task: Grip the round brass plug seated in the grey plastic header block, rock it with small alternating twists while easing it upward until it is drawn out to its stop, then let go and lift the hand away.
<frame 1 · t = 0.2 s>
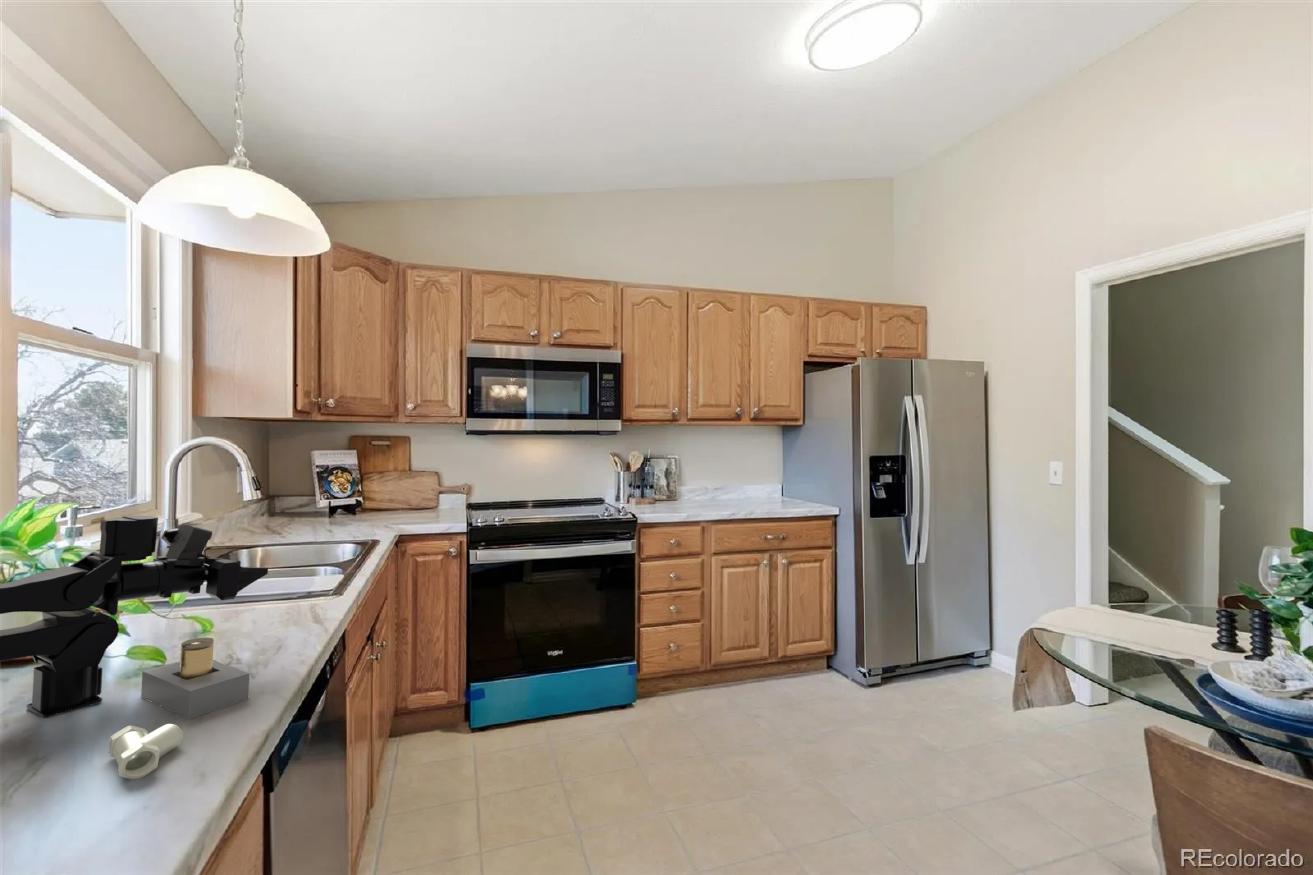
hand: (253, 567, 110), 16 cm above the worktop, tool horizontal, fingers open, 9 cm apart
pipe fitting: (149, 764, 74), on the worktop
brass plug: (196, 669, 92), point 4 cm above the worktop, slide at 0.0 cm
header block: (194, 698, 92), on the worktop
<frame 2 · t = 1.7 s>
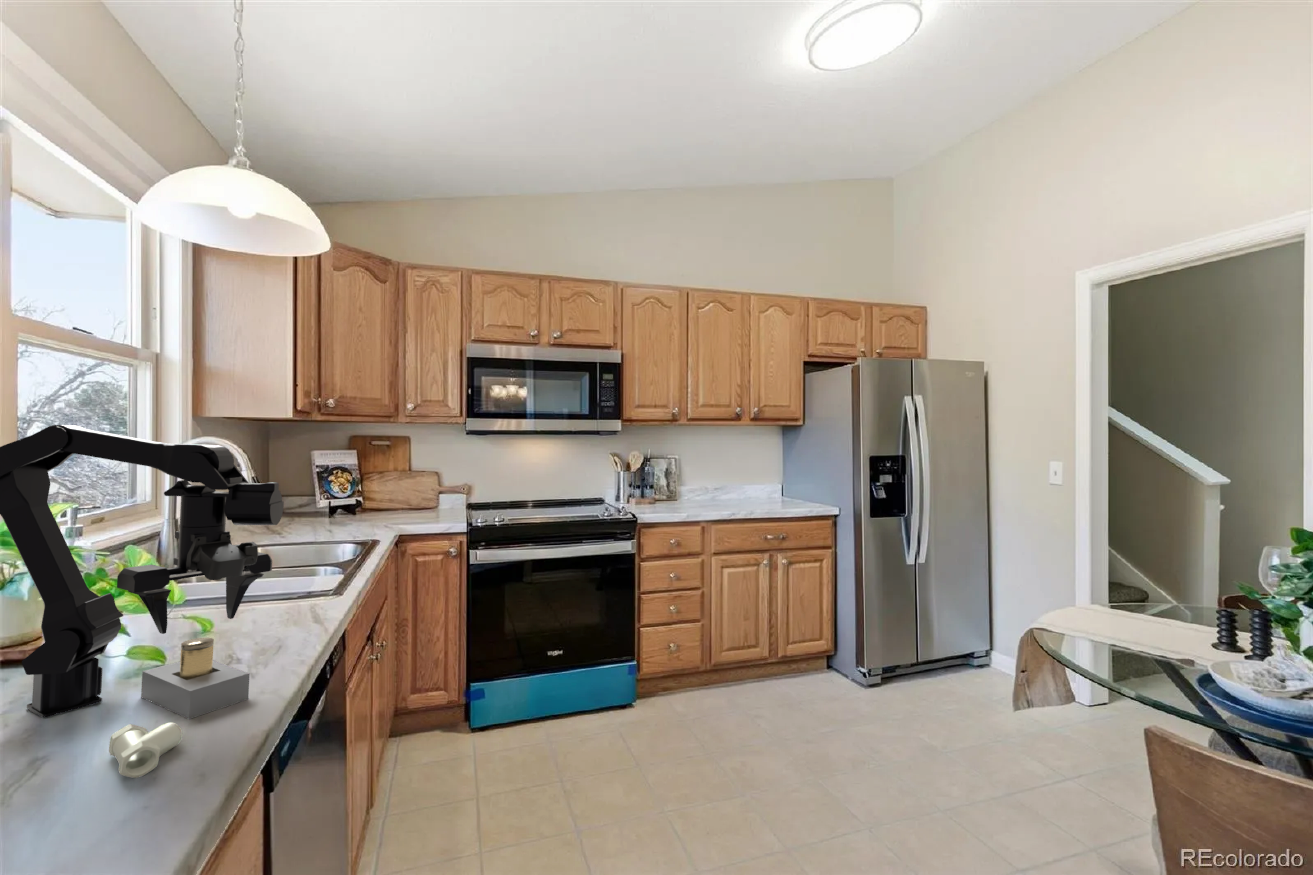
hand: (198, 625, 92), 11 cm above the worktop, tool pointing down, fingers open, 9 cm apart
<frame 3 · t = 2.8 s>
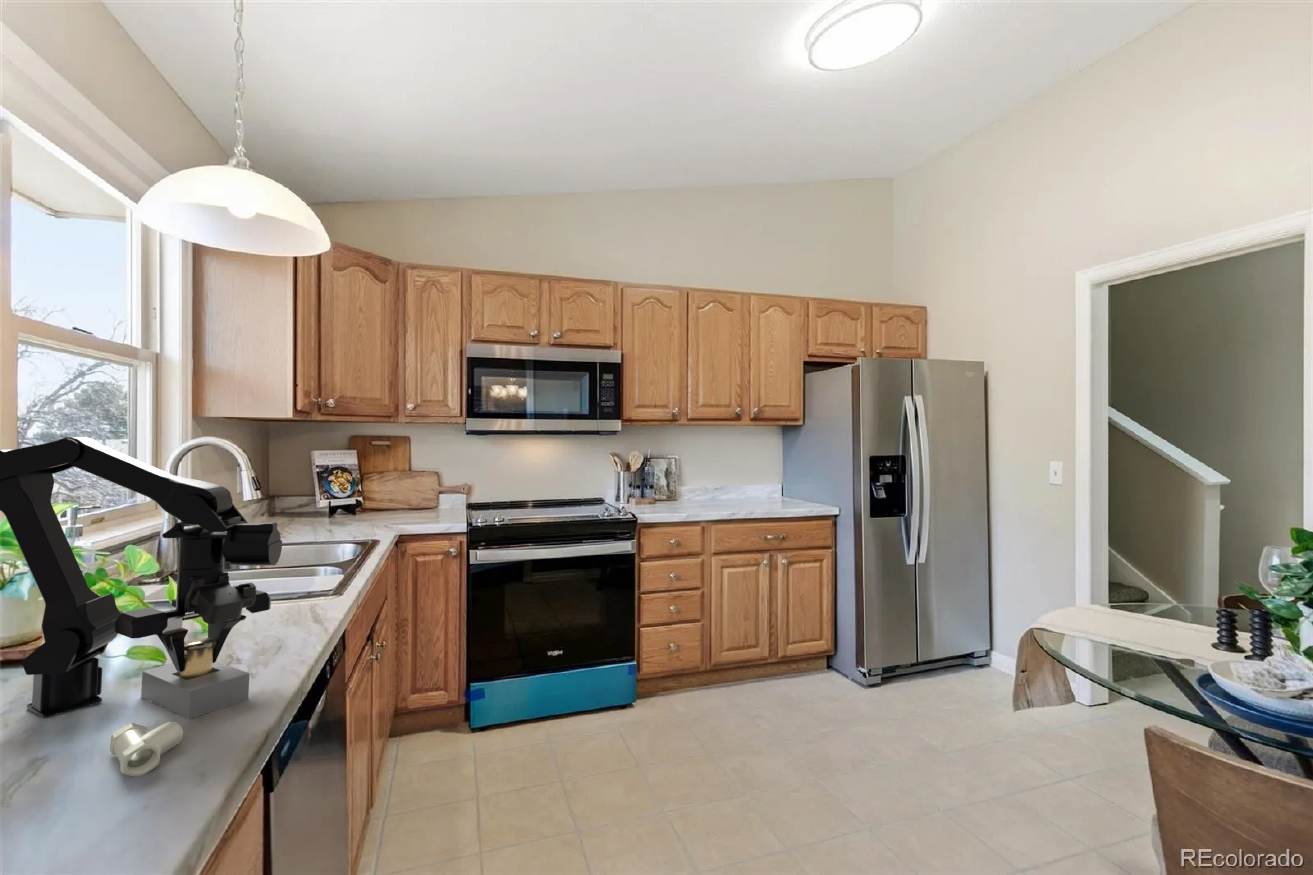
hand: (196, 666, 92), 5 cm above the worktop, tool pointing down, fingers closed on brass plug, 4 cm apart
brass plug: (196, 669, 92), point 4 cm above the worktop, slide at 0.0 cm, touching gripper
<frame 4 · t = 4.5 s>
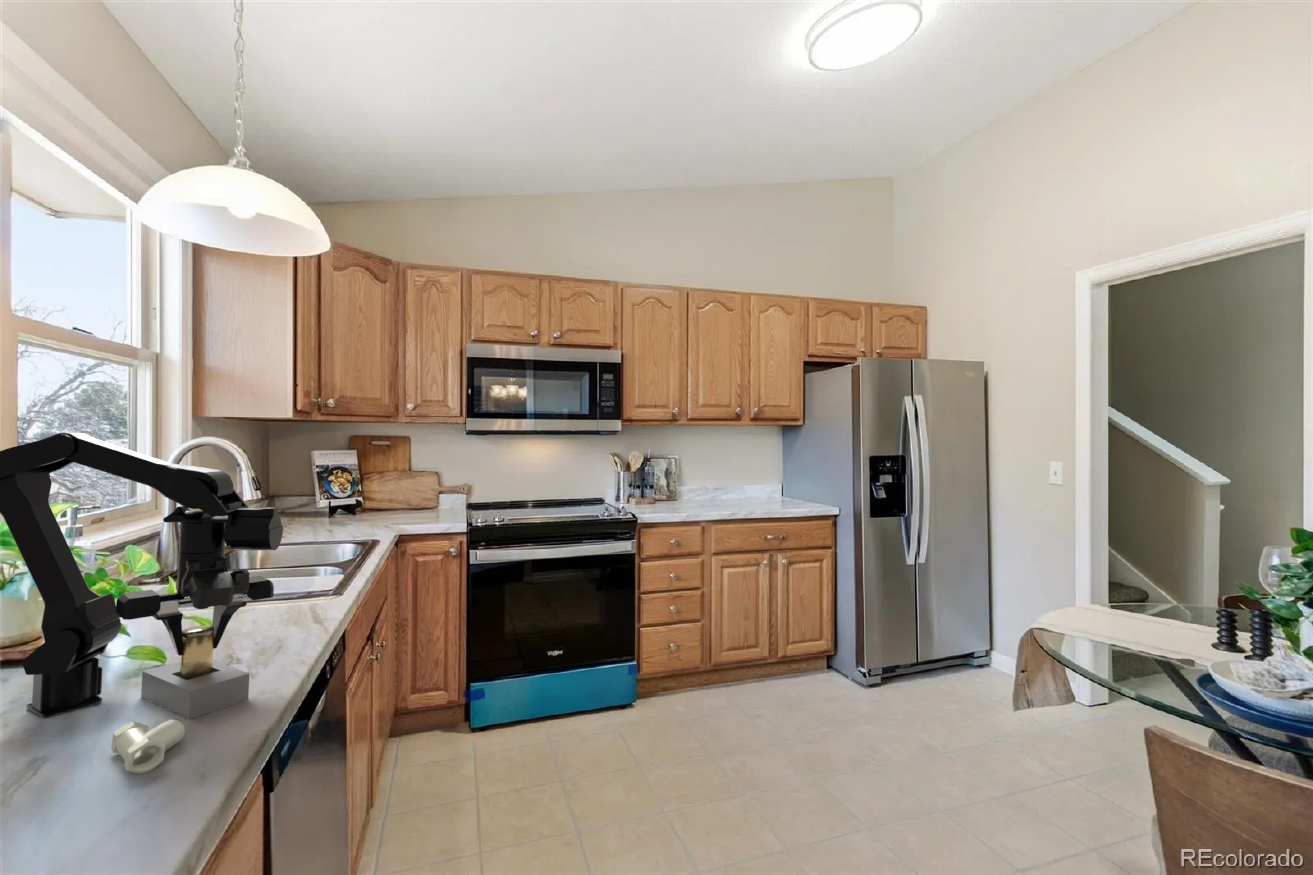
hand: (197, 651, 92), 7 cm above the worktop, tool pointing down, fingers closed on brass plug, 4 cm apart
brass plug: (196, 656, 92), point 6 cm above the worktop, slide at 1.9 cm, touching gripper
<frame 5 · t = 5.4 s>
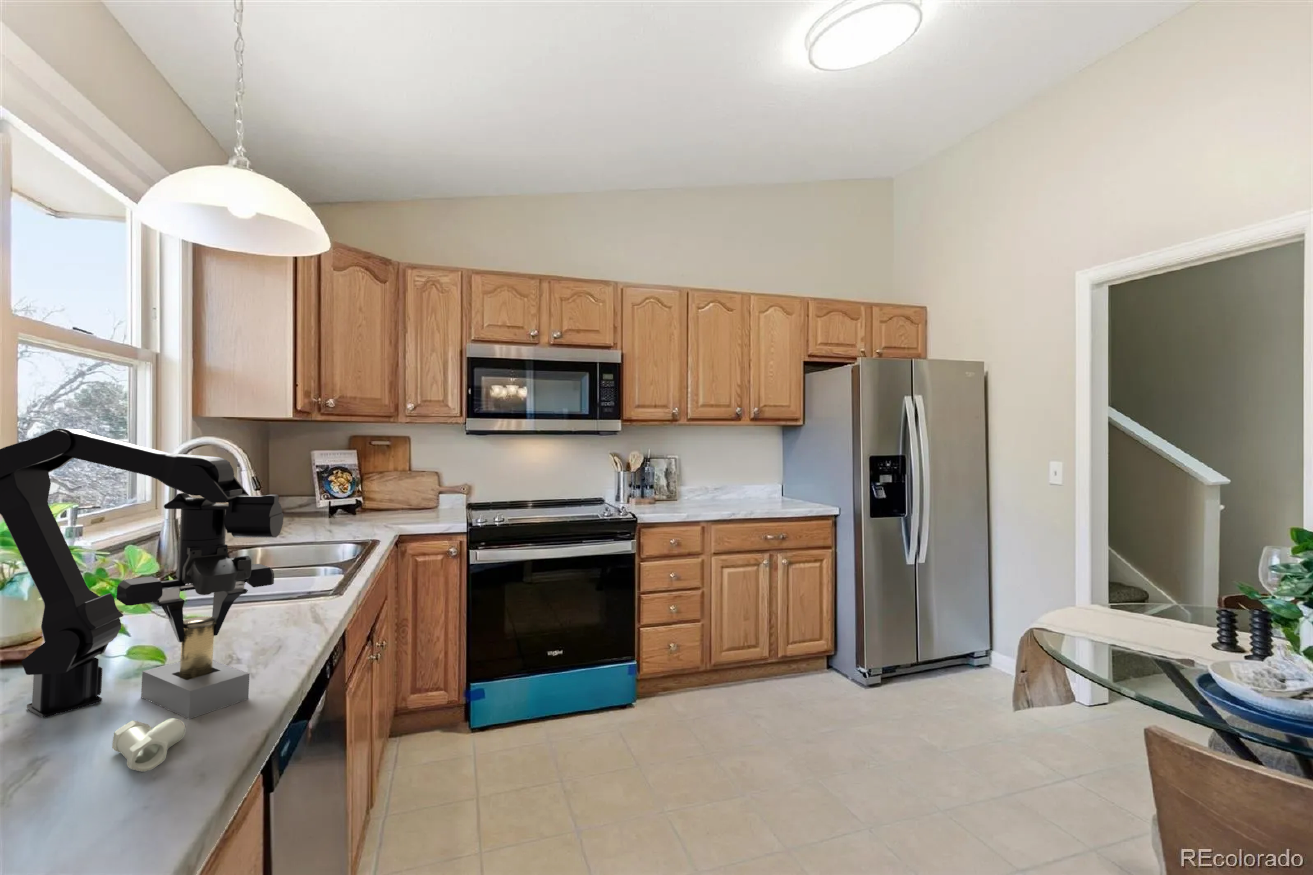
hand: (197, 638, 92), 9 cm above the worktop, tool pointing down, fingers closed on brass plug, 4 cm apart
brass plug: (197, 647, 92), point 8 cm above the worktop, slide at 3.4 cm, touching gripper
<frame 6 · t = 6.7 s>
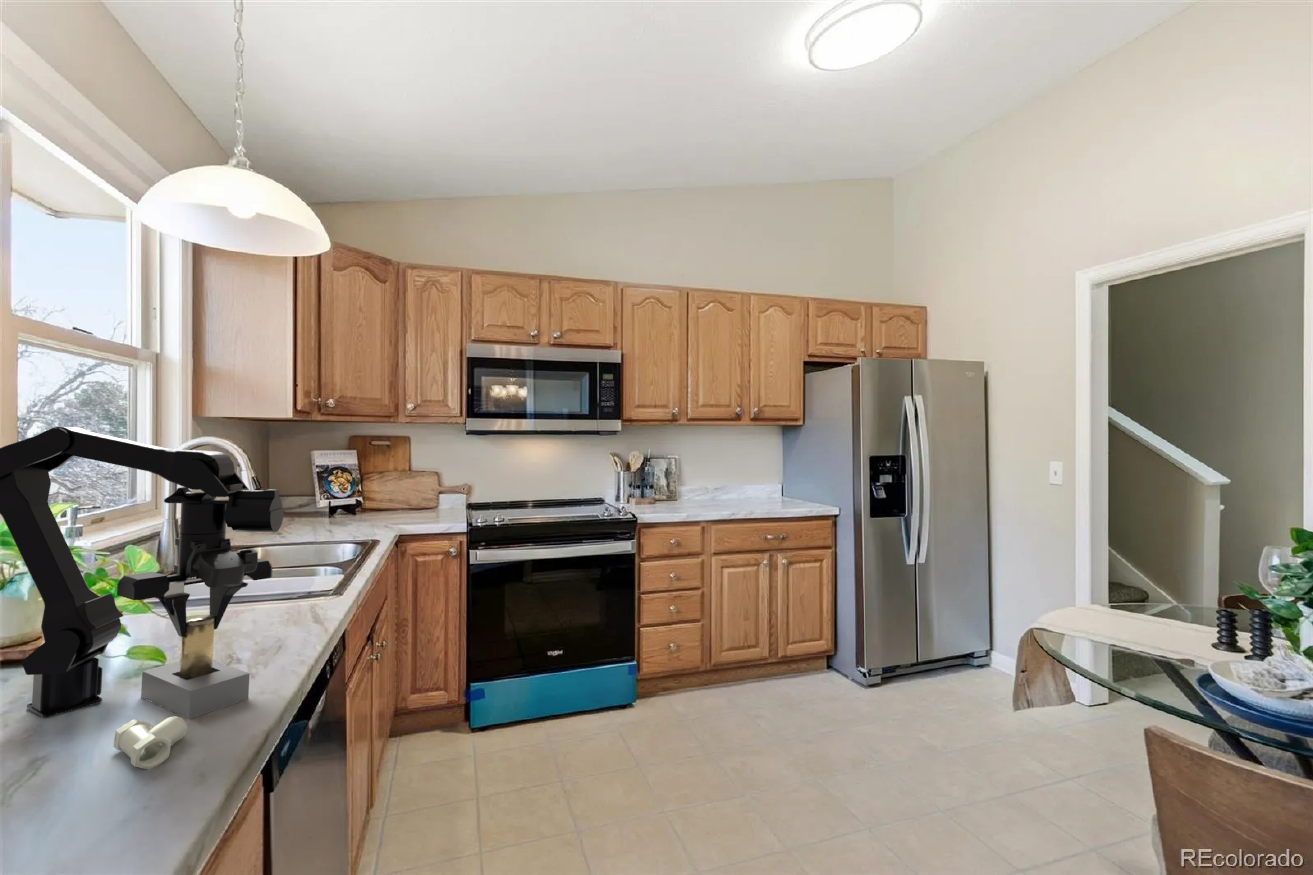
hand: (198, 632, 92), 10 cm above the worktop, tool pointing down, fingers closed on brass plug, 4 cm apart
brass plug: (197, 645, 92), point 8 cm above the worktop, slide at 3.6 cm, touching gripper
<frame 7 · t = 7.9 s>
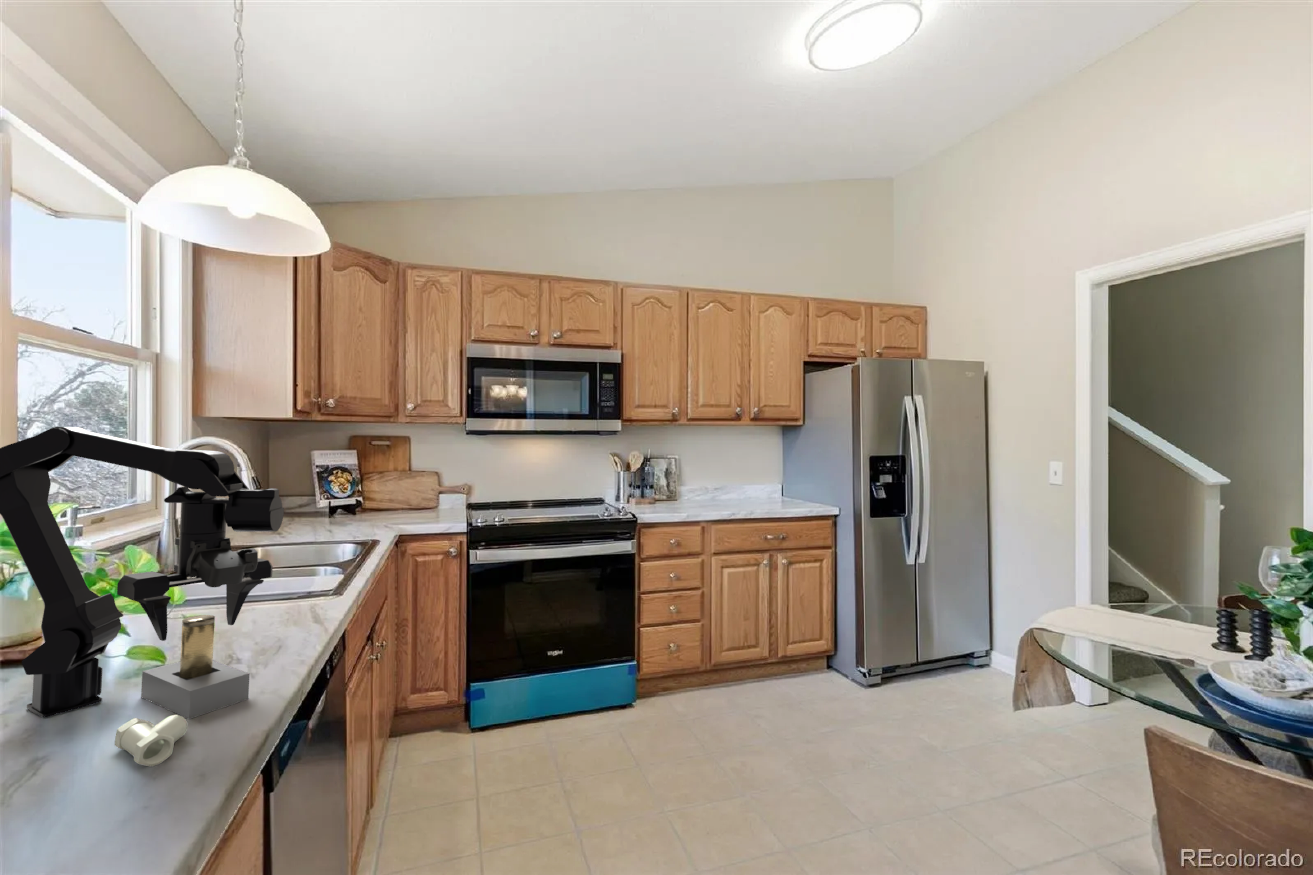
hand: (198, 632, 92), 10 cm above the worktop, tool pointing down, fingers open, 9 cm apart
brass plug: (197, 646, 92), point 8 cm above the worktop, slide at 3.6 cm
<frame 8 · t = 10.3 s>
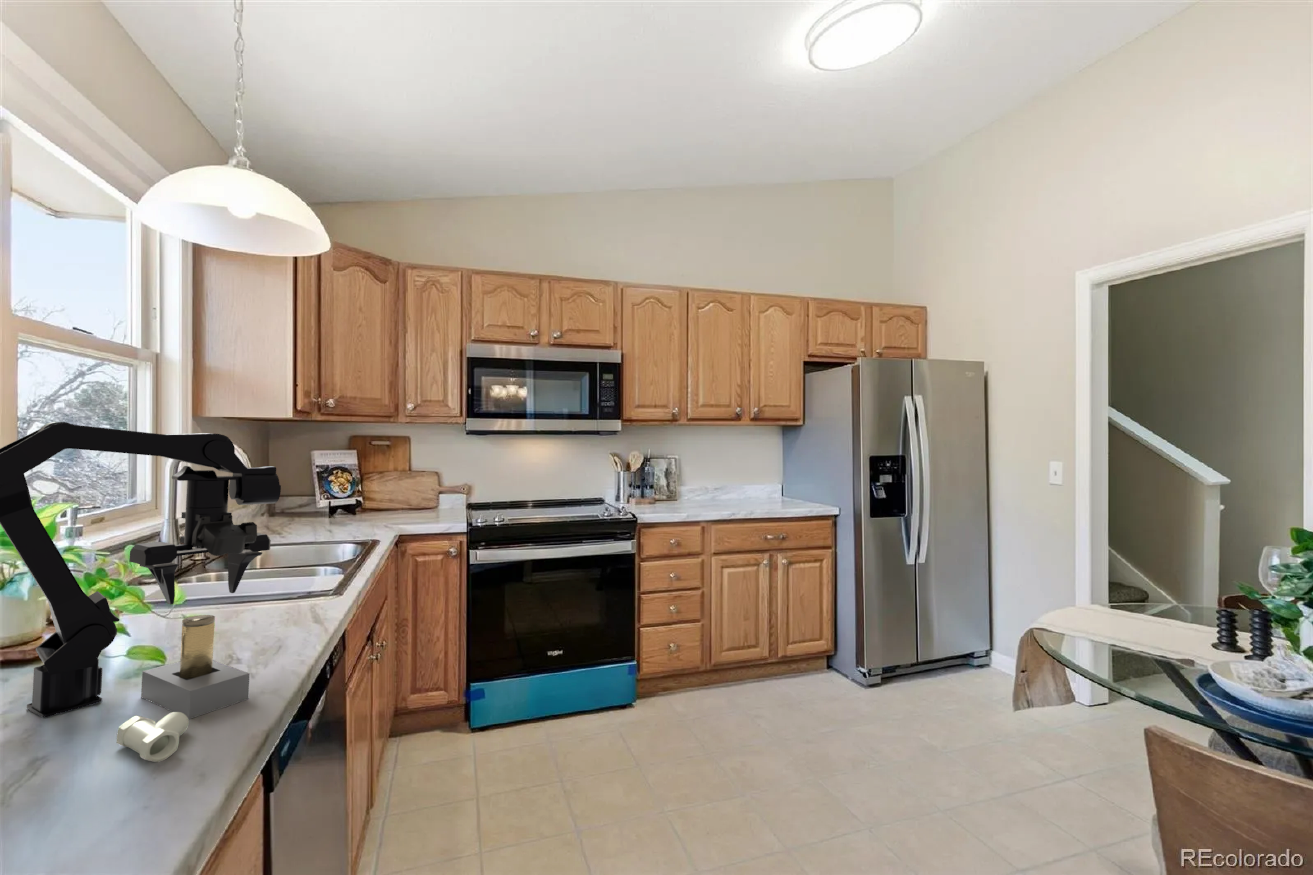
hand: (202, 598, 101), 13 cm above the worktop, tool pointing down, fingers open, 9 cm apart
at the end: brass plug slide at 3.6 cm; the gripper is holding nothing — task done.
